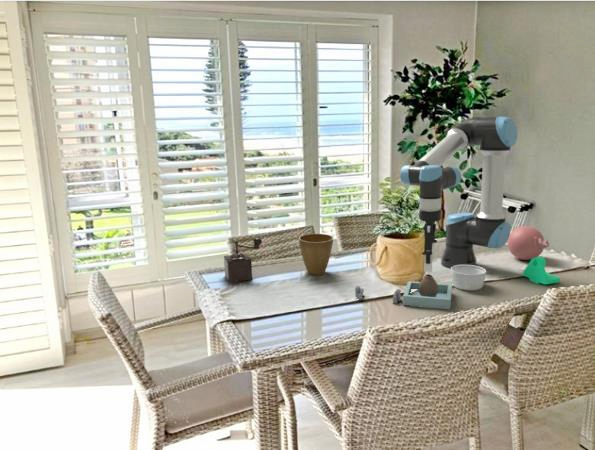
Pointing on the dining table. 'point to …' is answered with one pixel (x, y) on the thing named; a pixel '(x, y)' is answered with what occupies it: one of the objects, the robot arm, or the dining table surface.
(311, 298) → the dining table surface
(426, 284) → the vase
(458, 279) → the ramekin
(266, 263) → the dining table surface
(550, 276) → the green curved piece
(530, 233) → the balloon
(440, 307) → the parts bin
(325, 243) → the plant pot
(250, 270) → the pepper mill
